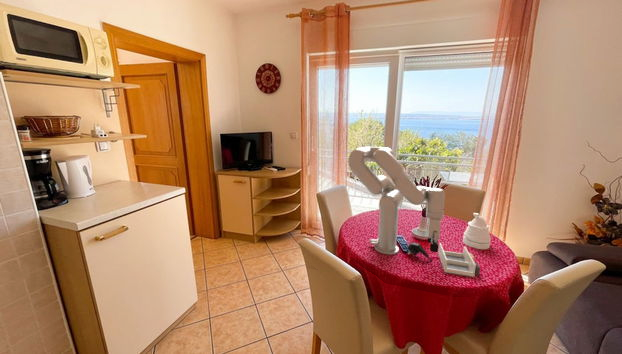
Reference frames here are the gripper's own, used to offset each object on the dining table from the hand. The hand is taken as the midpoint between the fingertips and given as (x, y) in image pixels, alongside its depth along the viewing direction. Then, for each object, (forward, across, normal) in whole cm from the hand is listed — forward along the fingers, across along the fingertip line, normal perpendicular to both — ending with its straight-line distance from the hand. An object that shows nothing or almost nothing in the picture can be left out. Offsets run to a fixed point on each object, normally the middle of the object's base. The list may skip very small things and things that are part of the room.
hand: (432, 246), depth 122 cm
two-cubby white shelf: (+8, 0, +10) cm, 13 cm away
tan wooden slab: (+8, -4, +18) cm, 20 cm away
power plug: (+10, 0, -2) cm, 10 cm away
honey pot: (+9, -28, +27) cm, 40 cm away
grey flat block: (+8, +4, +18) cm, 20 cm away
